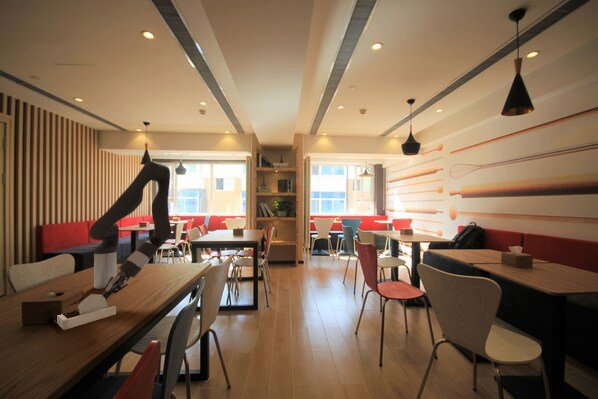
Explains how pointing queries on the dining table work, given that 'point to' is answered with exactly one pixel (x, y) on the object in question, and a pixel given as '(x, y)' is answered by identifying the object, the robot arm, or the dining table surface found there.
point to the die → (92, 304)
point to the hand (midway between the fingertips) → (100, 301)
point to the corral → (84, 318)
